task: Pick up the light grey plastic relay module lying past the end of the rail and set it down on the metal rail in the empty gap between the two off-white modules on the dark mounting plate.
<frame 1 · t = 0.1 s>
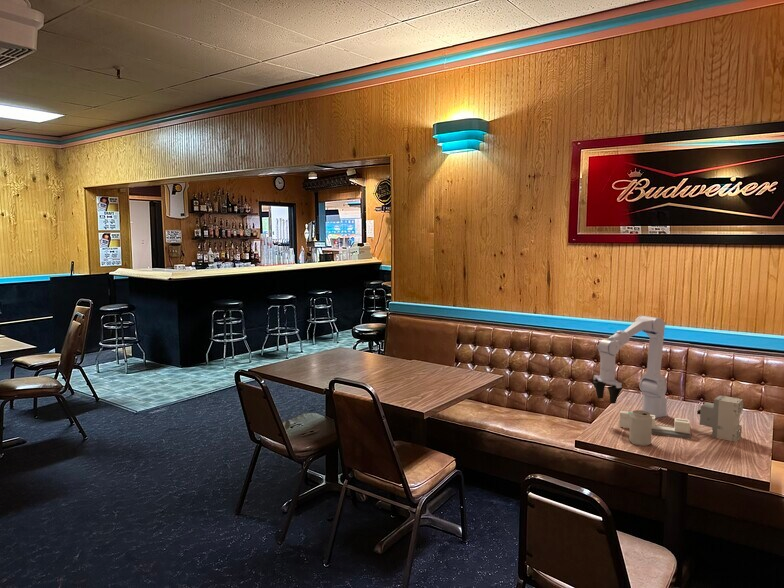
hand: (606, 400, 219), 10 cm above the table, tool pointing down, fingers open, 7 cm apart
relay module: (626, 426, 216), on the table
circuit breaker: (717, 435, 206), on the table
can: (640, 443, 198), on the table
rail plate: (664, 431, 210), on the table
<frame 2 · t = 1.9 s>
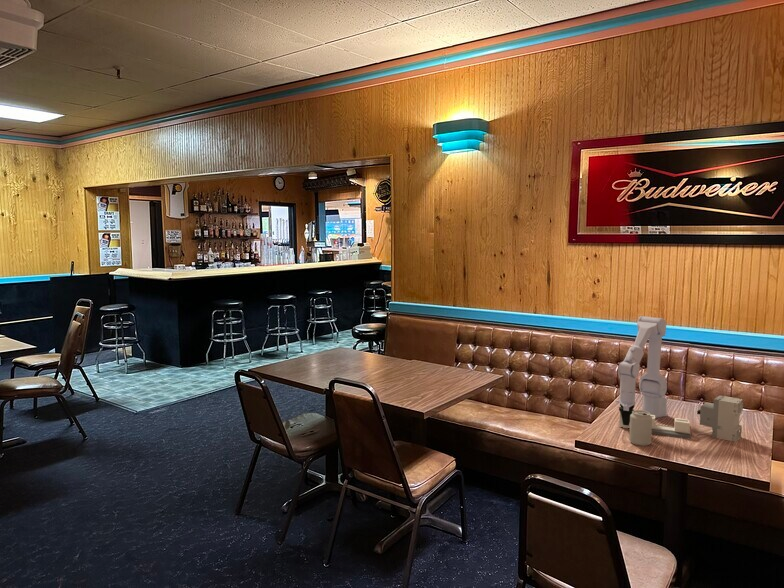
hand: (626, 423, 216), 1 cm above the table, tool pointing down, fingers closed on relay module, 4 cm apart
relay module: (626, 426, 216), on the table, touching gripper
everything else where it was.
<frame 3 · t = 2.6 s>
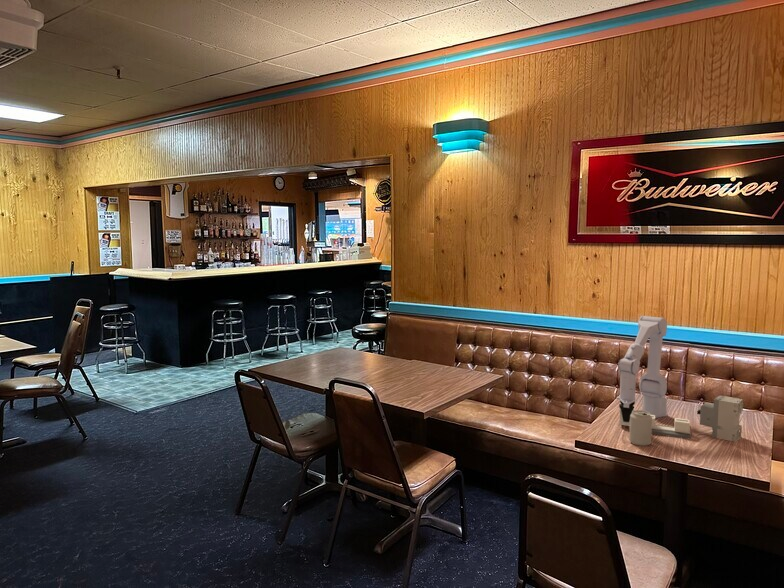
hand: (626, 420, 216), 3 cm above the table, tool pointing down, fingers closed on relay module, 4 cm apart
relay module: (626, 423, 216), point 1 cm above the table, touching gripper
everything else where it was.
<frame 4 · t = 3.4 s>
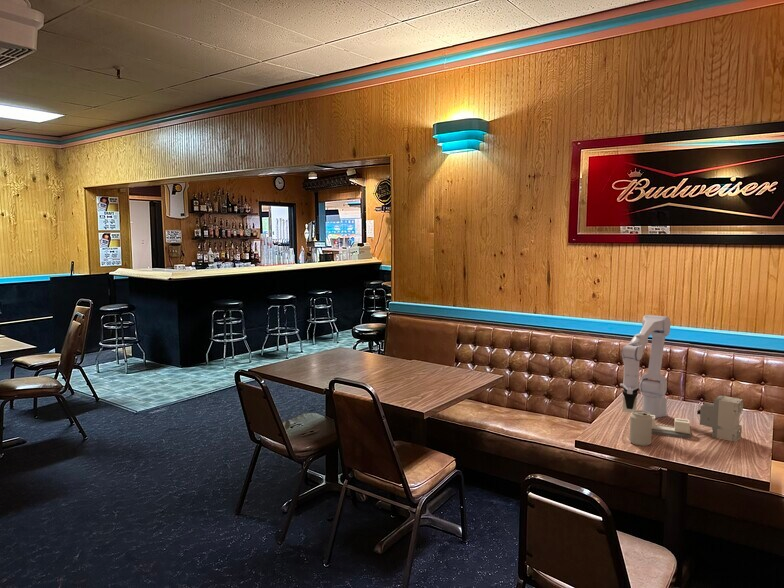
hand: (629, 406, 215), 8 cm above the table, tool pointing down, fingers closed on relay module, 4 cm apart
relay module: (629, 410, 215), point 7 cm above the table, touching gripper
everything else where it was.
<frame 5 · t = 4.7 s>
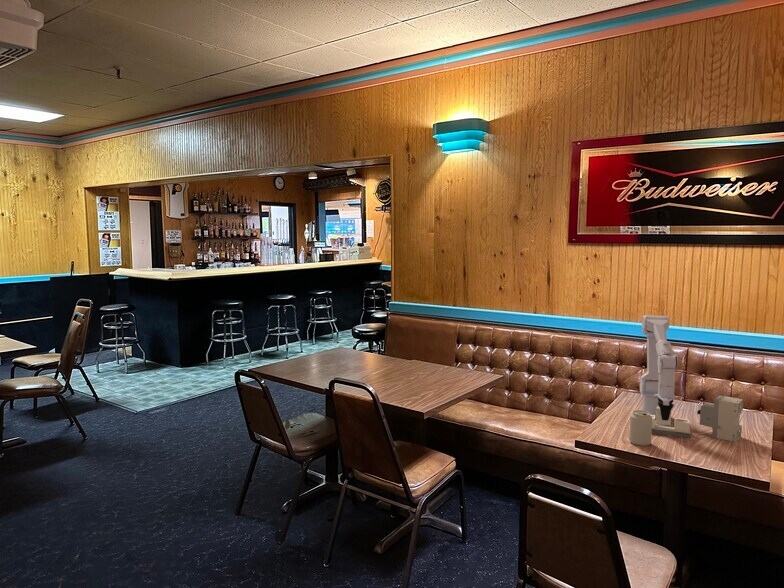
hand: (664, 418, 210), 6 cm above the table, tool pointing down, fingers closed on relay module, 4 cm apart
relay module: (663, 422, 210), point 4 cm above the table, touching gripper
everything else where it was.
when the fingers open (4 cm above the table, at t = 5.4 s): relay module stays where it is, resting on rail plate.
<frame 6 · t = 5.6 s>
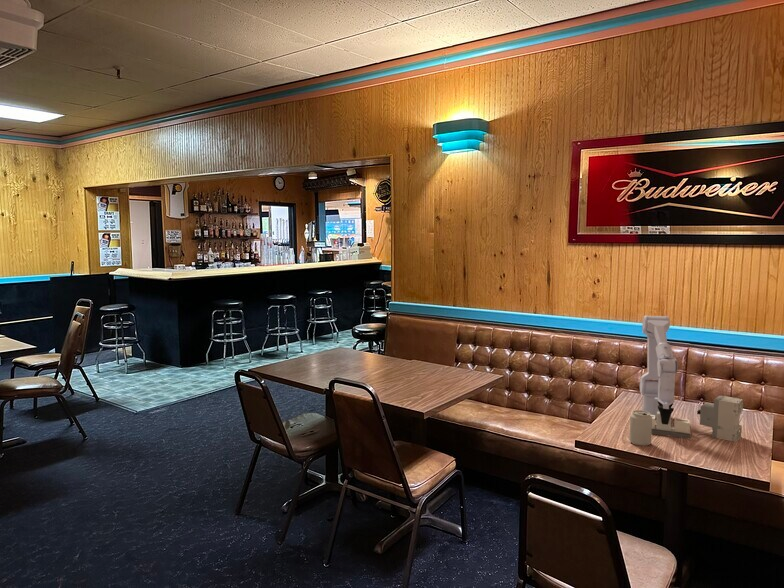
hand: (664, 421, 210), 4 cm above the table, tool pointing down, fingers open, 6 cm apart
relay module: (663, 427, 210), point 1 cm above the table, touching rail plate
everything else where it was.
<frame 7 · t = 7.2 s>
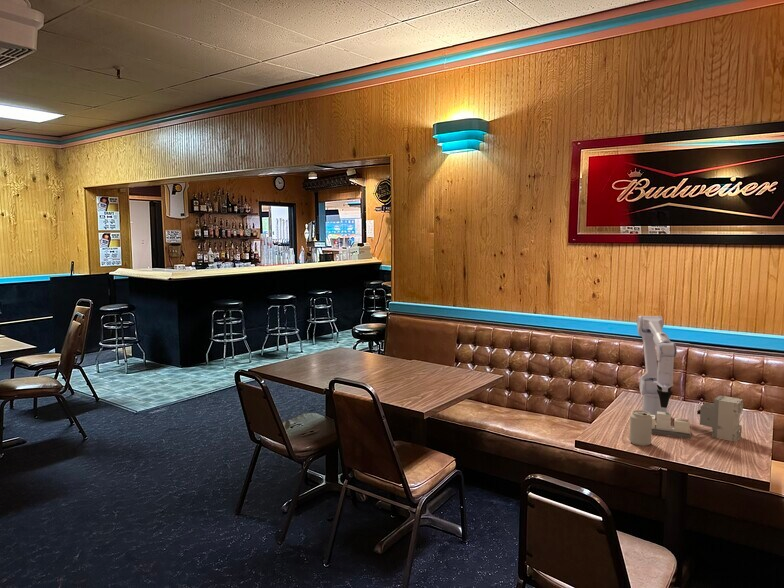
hand: (663, 404, 215), 9 cm above the table, tool pointing down, fingers open, 7 cm apart
nothing on the table moved.
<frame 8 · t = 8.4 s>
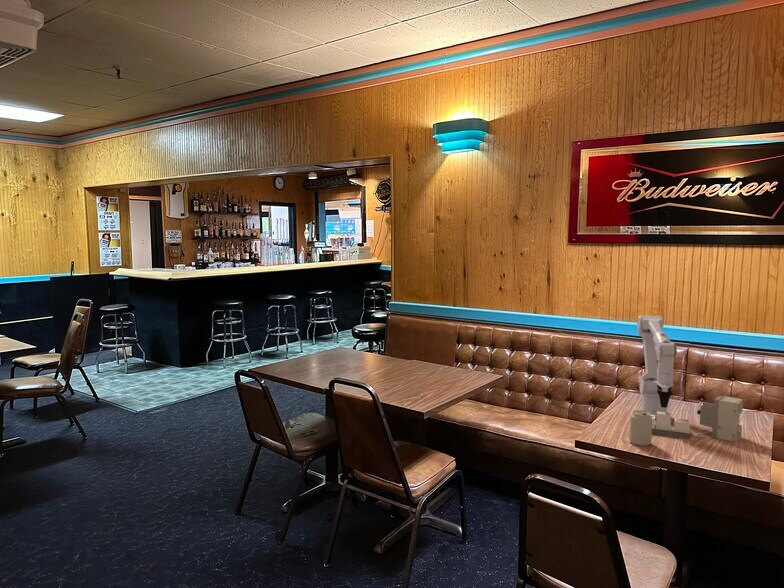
hand: (663, 404, 215), 9 cm above the table, tool pointing down, fingers open, 7 cm apart
nothing on the table moved.
at the end: relay module 0.4 cm off-centre on the rail plate, point 1.5 cm above the rail plate's base; relay module tilted 0°; the gripper is holding nothing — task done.
